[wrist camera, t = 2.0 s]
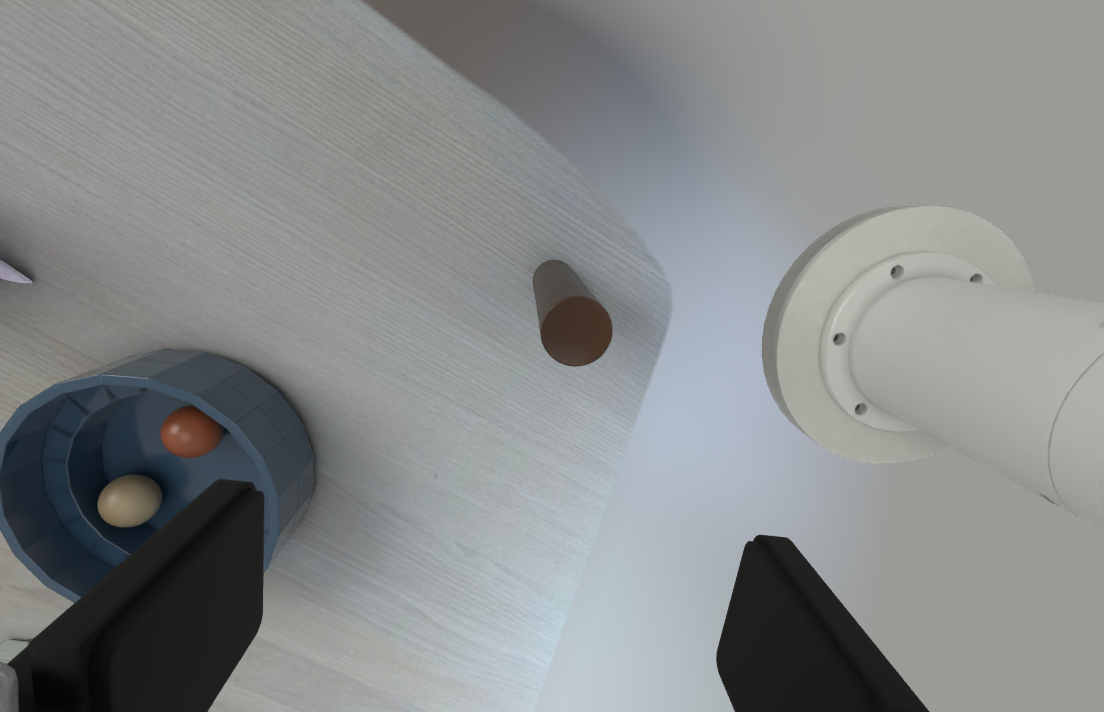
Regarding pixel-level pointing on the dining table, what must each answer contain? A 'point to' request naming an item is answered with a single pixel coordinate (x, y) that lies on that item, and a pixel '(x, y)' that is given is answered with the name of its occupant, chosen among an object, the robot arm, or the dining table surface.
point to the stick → (569, 316)
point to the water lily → (12, 274)
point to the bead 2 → (190, 432)
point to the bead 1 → (129, 500)
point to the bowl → (141, 460)
